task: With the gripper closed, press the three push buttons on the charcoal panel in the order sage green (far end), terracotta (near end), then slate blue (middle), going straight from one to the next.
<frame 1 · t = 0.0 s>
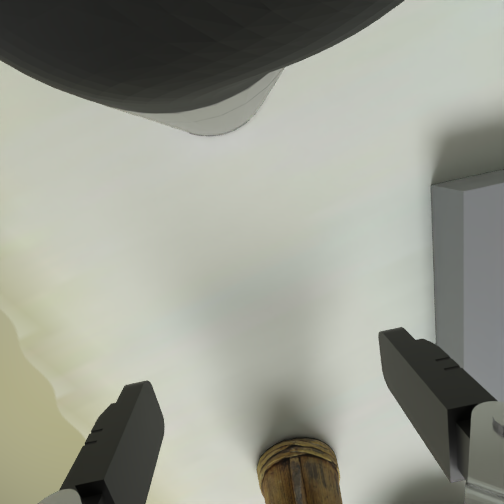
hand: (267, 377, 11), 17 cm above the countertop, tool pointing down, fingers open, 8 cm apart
wooden mug: (294, 450, 35), on the countertop
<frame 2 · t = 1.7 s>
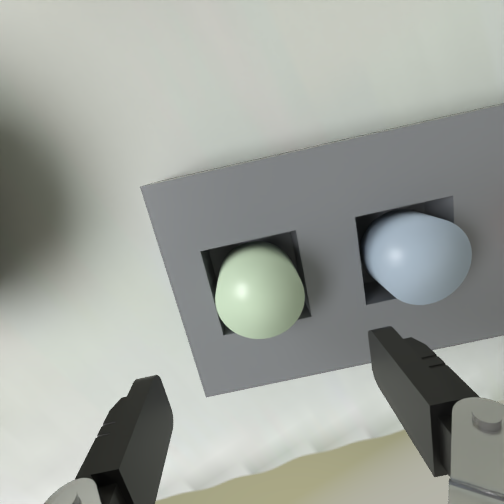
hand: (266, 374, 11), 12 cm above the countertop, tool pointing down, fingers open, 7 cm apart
button panel: (379, 236, 23), on the countertop
slate button: (411, 254, 18), point 4 cm above the countertop, slide at 0.0 cm
sage button: (258, 287, 19), point 4 cm above the countertop, slide at 0.0 cm
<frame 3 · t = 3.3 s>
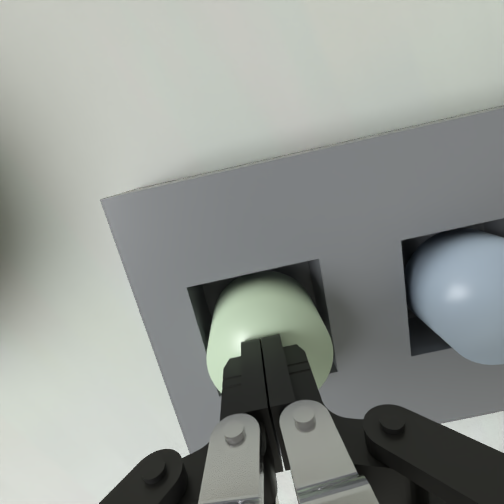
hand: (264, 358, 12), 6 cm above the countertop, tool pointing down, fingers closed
button panel: (420, 259, 18), on the countertop
slate button: (477, 291, 13), point 4 cm above the countertop, slide at 0.0 cm
sage button: (266, 336, 14), point 4 cm above the countertop, slide at 0.0 cm, touching gripper
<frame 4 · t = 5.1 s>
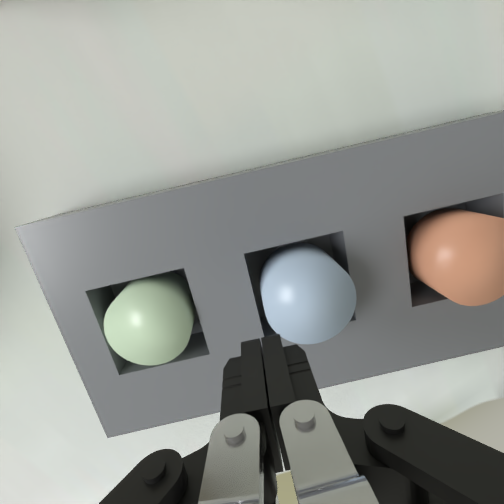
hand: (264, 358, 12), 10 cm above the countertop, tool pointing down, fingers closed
terracotta button: (460, 254, 18), point 4 cm above the countertop, slide at 0.0 cm
button panel: (290, 266, 22), on the countertop
slate button: (303, 291, 18), point 4 cm above the countertop, slide at 0.0 cm
sage button: (154, 315, 19), point 3 cm above the countertop, slide at 1.5 cm
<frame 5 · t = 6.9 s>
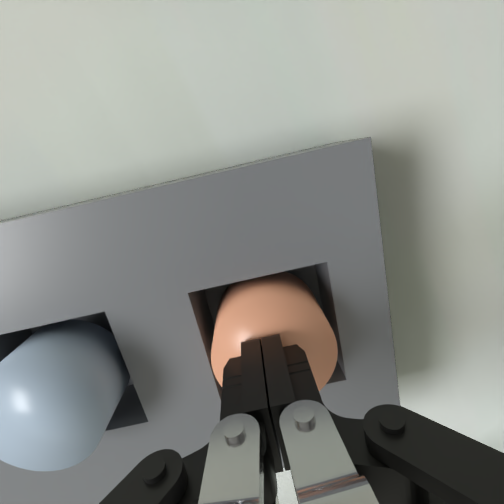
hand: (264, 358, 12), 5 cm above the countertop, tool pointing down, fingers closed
terracotta button: (270, 334, 14), point 4 cm above the countertop, slide at 0.7 cm, touching gripper
button panel: (102, 333, 17), on the countertop
slate button: (59, 390, 13), point 4 cm above the countertop, slide at 0.0 cm
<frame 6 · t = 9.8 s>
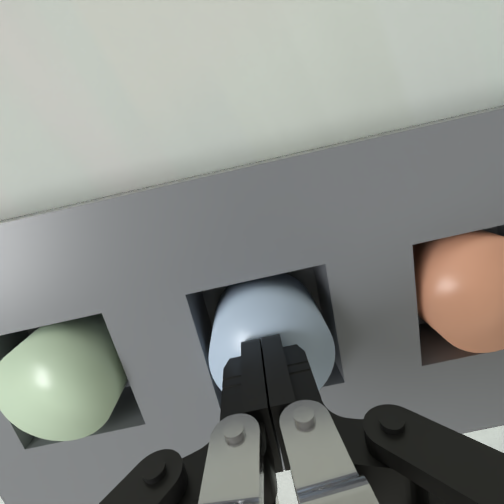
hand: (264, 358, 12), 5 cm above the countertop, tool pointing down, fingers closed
terracotta button: (467, 284, 14), point 3 cm above the countertop, slide at 1.5 cm
button panel: (262, 299, 17), on the countertop
slate button: (268, 335, 14), point 4 cm above the countertop, slide at 0.8 cm, touching gripper
sage button: (73, 369, 15), point 3 cm above the countertop, slide at 1.5 cm
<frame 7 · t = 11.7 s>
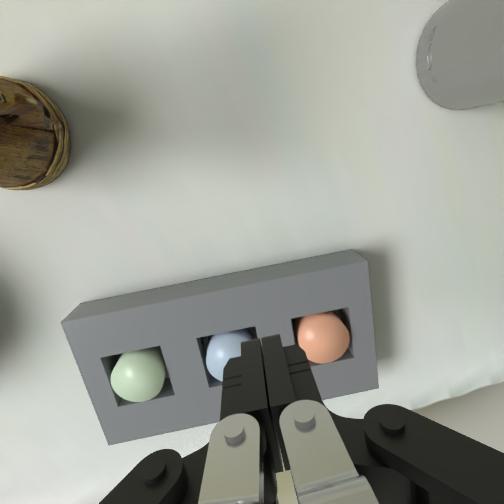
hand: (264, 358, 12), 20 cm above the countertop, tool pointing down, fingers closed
wooden mug: (44, 133, 28), on the countertop
terracotta button: (320, 332, 32), point 3 cm above the countertop, slide at 1.5 cm
button panel: (231, 336, 34), on the countertop
slate button: (231, 351, 32), point 3 cm above the countertop, slide at 1.5 cm
sage button: (141, 369, 31), point 3 cm above the countertop, slide at 1.5 cm
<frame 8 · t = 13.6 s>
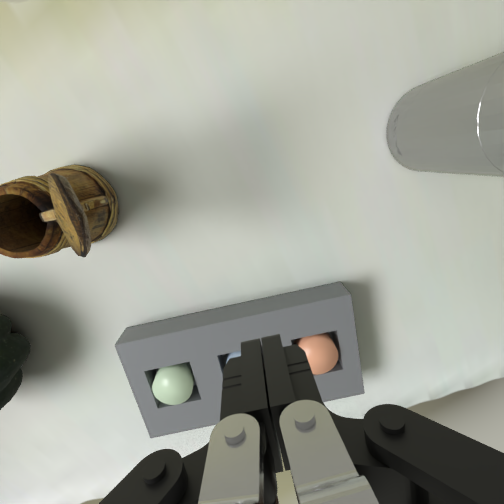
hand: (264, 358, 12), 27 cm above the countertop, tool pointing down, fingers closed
wooden mug: (99, 202, 37), on the countertop
terracotta button: (315, 349, 40), point 3 cm above the countertop, slide at 1.5 cm
button panel: (244, 351, 43), on the countertop
slate button: (244, 364, 40), point 3 cm above the countertop, slide at 1.5 cm
sage button: (174, 379, 40), point 3 cm above the countertop, slide at 1.5 cm
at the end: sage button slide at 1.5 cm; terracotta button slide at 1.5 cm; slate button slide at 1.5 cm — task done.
